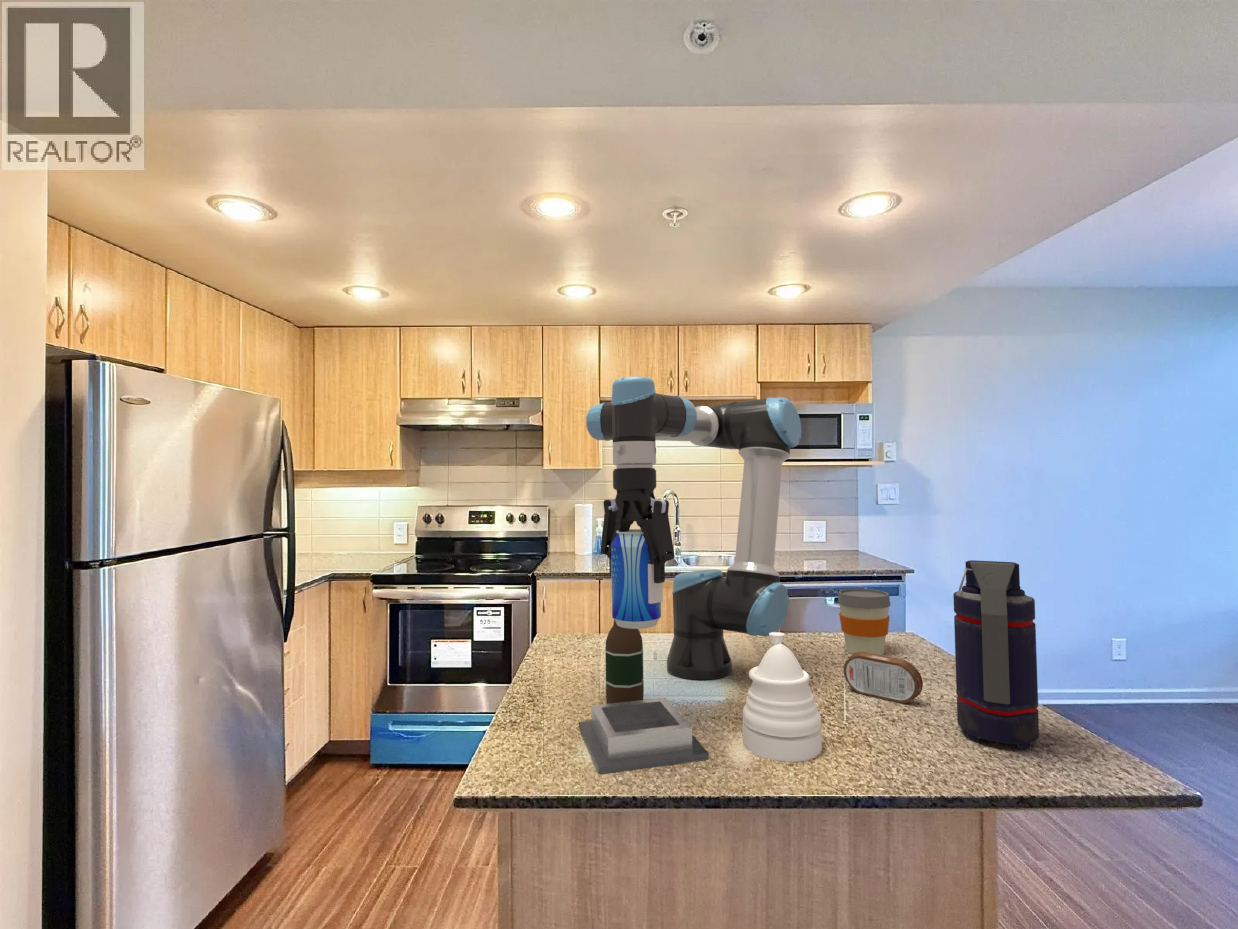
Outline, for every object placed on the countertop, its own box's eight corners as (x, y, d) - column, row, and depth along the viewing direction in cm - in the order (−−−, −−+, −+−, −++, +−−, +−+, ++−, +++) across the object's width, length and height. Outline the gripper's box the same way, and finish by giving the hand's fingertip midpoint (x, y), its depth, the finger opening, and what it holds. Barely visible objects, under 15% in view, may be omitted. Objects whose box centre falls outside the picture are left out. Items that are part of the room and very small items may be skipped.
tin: (924, 704, 118) (922, 661, 119) (918, 709, 116) (917, 665, 116) (848, 687, 129) (847, 647, 129) (842, 691, 126) (841, 650, 127)
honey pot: (737, 728, 108) (735, 628, 109) (809, 728, 108) (806, 627, 108) (750, 762, 96) (748, 647, 96) (832, 762, 95) (829, 647, 96)
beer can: (657, 630, 99) (655, 532, 99) (607, 629, 100) (606, 532, 101) (664, 619, 107) (662, 528, 107) (617, 617, 109) (616, 528, 109)
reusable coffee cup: (834, 644, 162) (832, 588, 162) (883, 645, 160) (881, 588, 160) (845, 658, 149) (843, 597, 150) (898, 659, 148) (896, 597, 148)
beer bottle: (631, 714, 116) (629, 588, 116) (598, 706, 120) (596, 585, 121) (651, 701, 122) (649, 582, 123) (619, 694, 127) (617, 579, 127)
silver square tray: (672, 717, 114) (672, 693, 114) (708, 759, 97) (708, 731, 97) (578, 727, 110) (578, 702, 110) (598, 774, 92) (598, 744, 92)
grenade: (958, 717, 111) (953, 555, 112) (1036, 730, 105) (1030, 558, 106) (956, 747, 100) (950, 564, 100) (1044, 763, 93) (1037, 569, 94)
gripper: (578, 468, 109) (580, 594, 109) (665, 465, 94) (667, 611, 94) (609, 468, 115) (611, 588, 114) (695, 465, 99) (698, 603, 99)
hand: (636, 598), depth 104 cm, fingers closed on beer can, 8 cm apart
